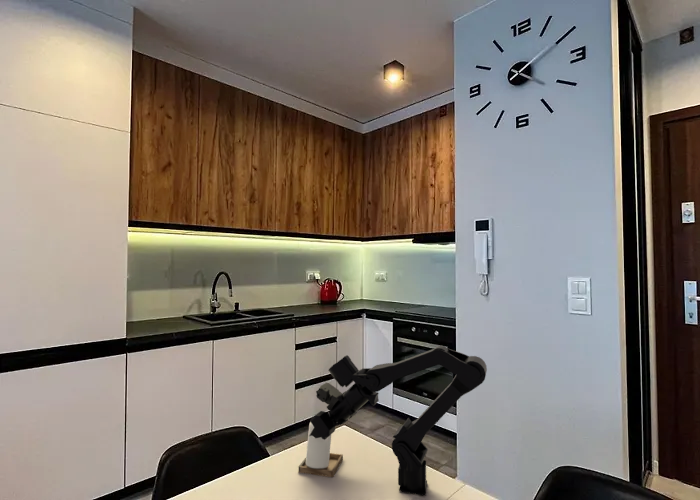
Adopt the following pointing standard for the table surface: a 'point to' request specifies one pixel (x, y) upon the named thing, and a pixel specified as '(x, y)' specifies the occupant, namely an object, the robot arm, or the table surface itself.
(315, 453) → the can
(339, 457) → the wooden tray
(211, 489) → the table surface
